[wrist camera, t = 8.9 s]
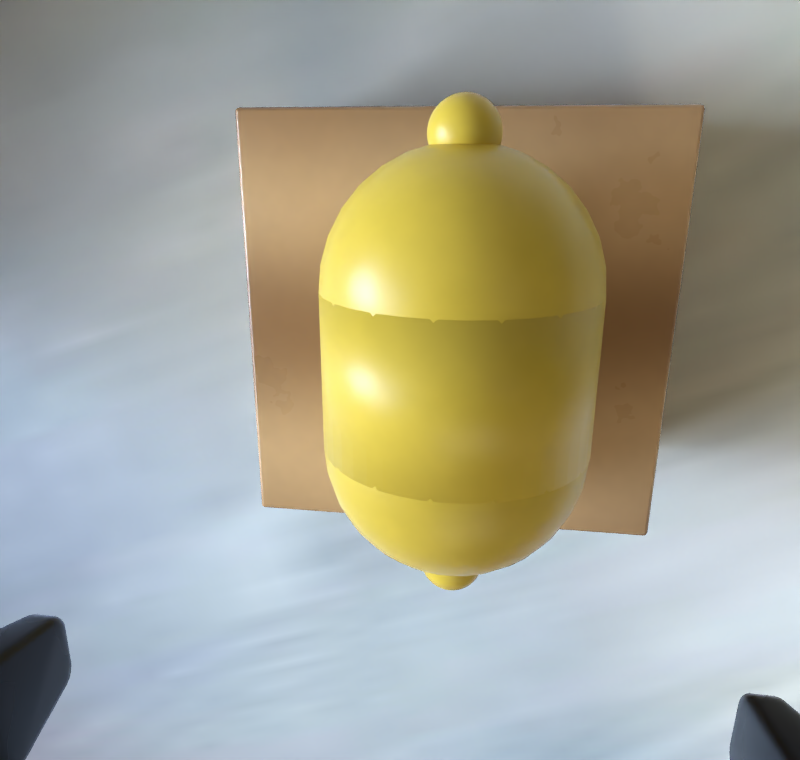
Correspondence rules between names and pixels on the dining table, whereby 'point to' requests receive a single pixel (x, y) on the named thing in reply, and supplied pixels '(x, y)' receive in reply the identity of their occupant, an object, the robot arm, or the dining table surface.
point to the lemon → (460, 349)
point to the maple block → (542, 140)
